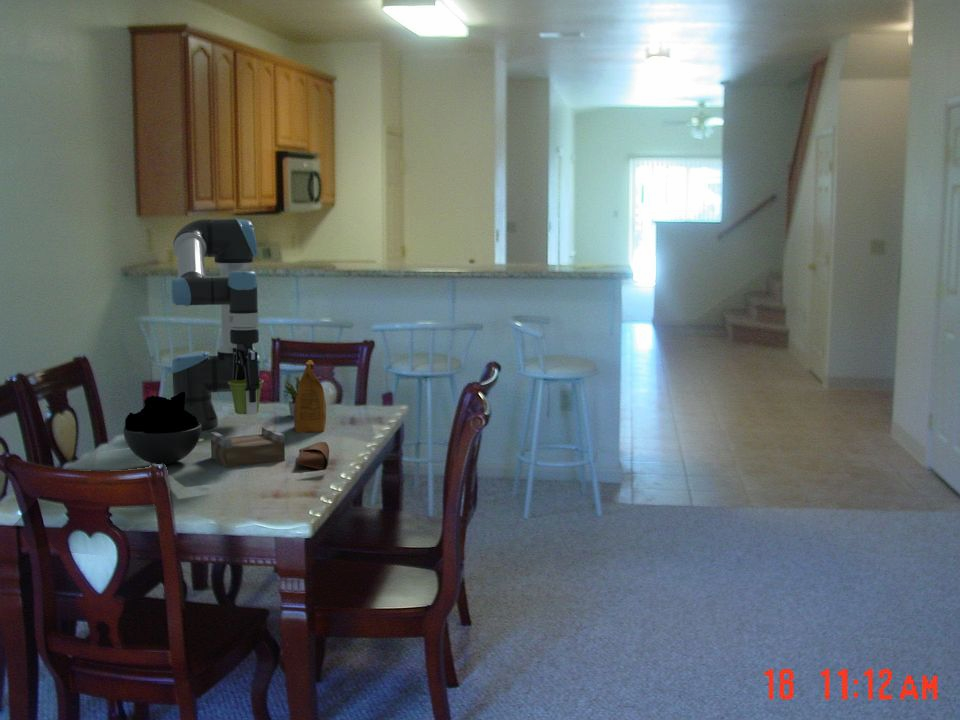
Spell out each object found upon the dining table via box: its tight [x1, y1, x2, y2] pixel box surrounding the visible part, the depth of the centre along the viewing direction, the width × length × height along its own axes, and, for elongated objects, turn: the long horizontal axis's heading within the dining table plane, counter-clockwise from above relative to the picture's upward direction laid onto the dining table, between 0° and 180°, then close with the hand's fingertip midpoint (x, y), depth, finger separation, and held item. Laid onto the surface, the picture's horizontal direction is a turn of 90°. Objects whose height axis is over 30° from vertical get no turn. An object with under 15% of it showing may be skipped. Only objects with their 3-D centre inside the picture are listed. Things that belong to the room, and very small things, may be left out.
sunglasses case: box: [295, 441, 330, 470], centre depth 272 cm, size 18×7×7 cm
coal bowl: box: [122, 392, 202, 465], centre depth 270 cm, size 20×20×19 cm
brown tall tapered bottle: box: [293, 359, 327, 434], centre depth 315 cm, size 10×12×22 cm
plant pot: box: [228, 378, 265, 415], centre depth 275 cm, size 9×9×9 cm
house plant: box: [281, 373, 320, 418], centre depth 334 cm, size 14×14×16 cm
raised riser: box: [210, 426, 286, 468], centre depth 277 cm, size 14×16×7 cm
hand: (246, 411), depth 275 cm, fingers closed on plant pot, 8 cm apart
